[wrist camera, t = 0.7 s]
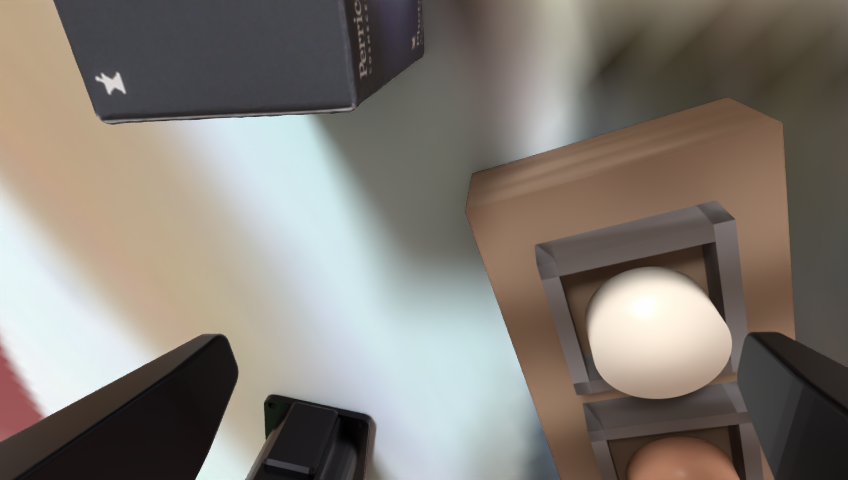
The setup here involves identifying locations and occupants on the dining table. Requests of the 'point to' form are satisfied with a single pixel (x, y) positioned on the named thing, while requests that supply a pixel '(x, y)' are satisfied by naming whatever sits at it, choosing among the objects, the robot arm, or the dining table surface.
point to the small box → (237, 55)
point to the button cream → (656, 333)
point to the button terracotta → (680, 461)
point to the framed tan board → (634, 248)
